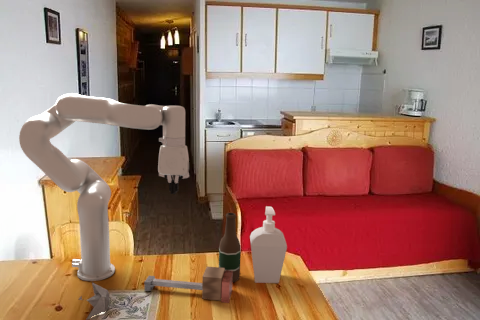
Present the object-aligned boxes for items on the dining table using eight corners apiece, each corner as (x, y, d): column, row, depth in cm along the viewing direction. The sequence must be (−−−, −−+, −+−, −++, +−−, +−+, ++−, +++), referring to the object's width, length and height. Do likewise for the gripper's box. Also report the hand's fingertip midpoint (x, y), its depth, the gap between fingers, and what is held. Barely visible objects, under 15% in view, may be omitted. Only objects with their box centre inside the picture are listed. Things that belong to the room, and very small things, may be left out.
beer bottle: (237, 284, 138) (239, 218, 133) (215, 281, 139) (217, 216, 134) (241, 274, 145) (244, 211, 140) (221, 271, 146) (222, 209, 142)
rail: (142, 294, 129) (142, 274, 128) (150, 282, 137) (150, 263, 135) (228, 302, 126) (229, 282, 125) (232, 289, 134) (232, 270, 133)
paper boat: (110, 316, 115) (76, 314, 112) (105, 326, 119) (72, 324, 115) (114, 279, 124) (83, 275, 120) (109, 289, 127) (79, 286, 124)
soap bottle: (281, 270, 149) (285, 204, 143) (284, 284, 139) (289, 214, 133) (248, 269, 148) (251, 203, 143) (249, 283, 138) (252, 213, 133)
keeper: (202, 298, 127) (202, 276, 126) (206, 287, 134) (206, 266, 133) (220, 300, 127) (221, 278, 125) (224, 289, 134) (224, 267, 132)
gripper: (149, 142, 134) (149, 194, 138) (192, 144, 133) (192, 197, 137) (156, 139, 142) (156, 188, 146) (197, 141, 140) (196, 191, 144)
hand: (173, 192), depth 141 cm, fingers closed
